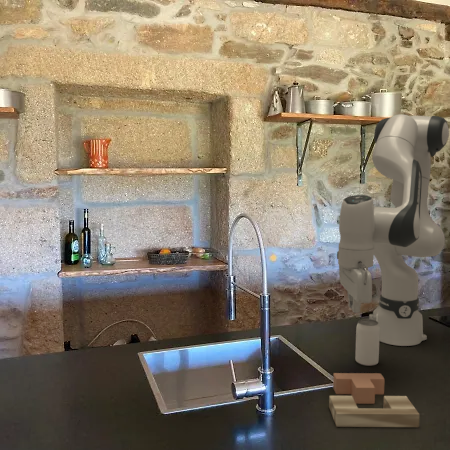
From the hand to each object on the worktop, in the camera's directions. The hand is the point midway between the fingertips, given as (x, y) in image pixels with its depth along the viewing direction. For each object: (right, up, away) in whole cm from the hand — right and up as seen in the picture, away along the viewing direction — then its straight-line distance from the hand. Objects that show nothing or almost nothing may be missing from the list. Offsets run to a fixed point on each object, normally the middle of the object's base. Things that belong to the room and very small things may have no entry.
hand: (354, 310), depth 130 cm
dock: (0, -22, -17) cm, 28 cm away
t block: (0, -20, -7) cm, 21 cm away
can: (+7, -18, +14) cm, 24 cm away
